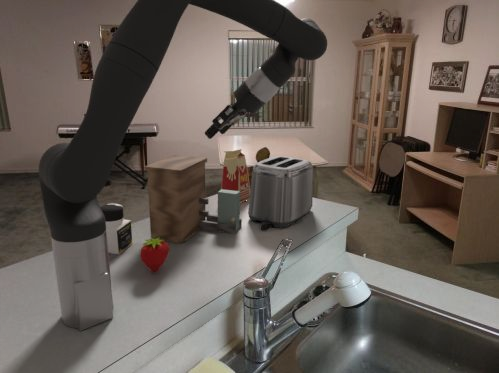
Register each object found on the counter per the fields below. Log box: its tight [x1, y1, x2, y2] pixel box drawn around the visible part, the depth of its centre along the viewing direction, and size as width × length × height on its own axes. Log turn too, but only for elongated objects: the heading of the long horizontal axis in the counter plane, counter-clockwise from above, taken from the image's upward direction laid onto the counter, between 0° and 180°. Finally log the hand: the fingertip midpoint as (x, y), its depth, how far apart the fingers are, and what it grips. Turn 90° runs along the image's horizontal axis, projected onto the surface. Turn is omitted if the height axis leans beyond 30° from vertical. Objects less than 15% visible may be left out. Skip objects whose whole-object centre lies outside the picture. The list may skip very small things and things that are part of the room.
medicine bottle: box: [100, 203, 133, 255], centre depth 100 cm, size 7×7×12 cm
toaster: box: [247, 155, 314, 231], centre depth 125 cm, size 17×30×19 cm, turn 147°
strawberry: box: [139, 237, 170, 273], centre depth 88 cm, size 6×8×10 cm
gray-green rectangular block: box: [217, 188, 241, 232], centre depth 114 cm, size 6×4×12 cm, turn 73°
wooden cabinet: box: [144, 154, 243, 244], centre depth 110 cm, size 22×18×21 cm
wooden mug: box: [247, 146, 271, 189], centre depth 150 cm, size 9×14×18 cm, turn 152°
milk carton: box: [220, 148, 250, 204], centre depth 140 cm, size 9×9×20 cm
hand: (213, 133), depth 98 cm, fingers open, 8 cm apart
